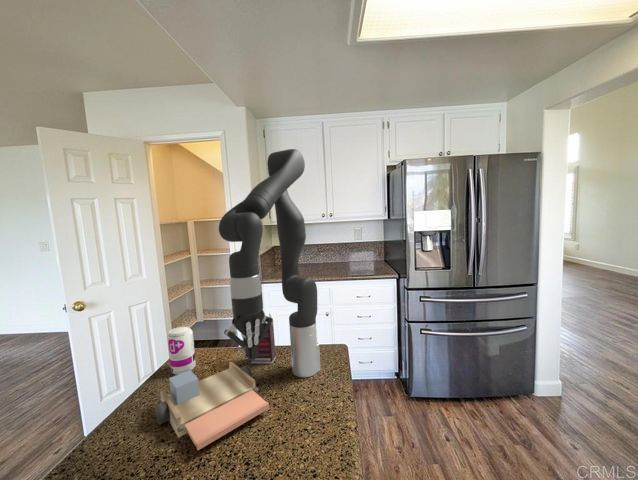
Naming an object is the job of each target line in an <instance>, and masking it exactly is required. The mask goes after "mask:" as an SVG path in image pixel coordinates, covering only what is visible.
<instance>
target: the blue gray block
mask: <svg viewBox="0 0 638 480" xmlns="http://www.w3.org/2000/svg"><path fill="white" fill-rule="evenodd" d="M199 381H200V380H199V378H198V377H197V375H195V373H194V372H193V371H192V370H189V371H186V372H184V373H181V374H179V375H176V374H175V375H173V376H172V377H169V379H168V382H169V388H170V389H169V391H170V393H171V395H172V397H173V398H174V400H175V402H176V403H177V405H179V404H181V403H183V402H186V401H188V400H190V399H192V398H194V397H196V396H199V395H200V392H199Z"/></svg>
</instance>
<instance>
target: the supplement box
mask: <svg viewBox="0 0 638 480" xmlns="http://www.w3.org/2000/svg"><path fill="white" fill-rule="evenodd" d="M271 318H272V317H271ZM272 319H273V321H272V323H271V325H270V327H269V329H268V331H267V333H266V335H265V337H264V339H263V340H260V341H259V342H258V356H257V359H255V360H253V361H251V360H250V364H270V365H271V364H273V363H274V362H275V360H276V358H277V357H276V355H277V354H276V342H275V329H274V318H272Z"/></svg>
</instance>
